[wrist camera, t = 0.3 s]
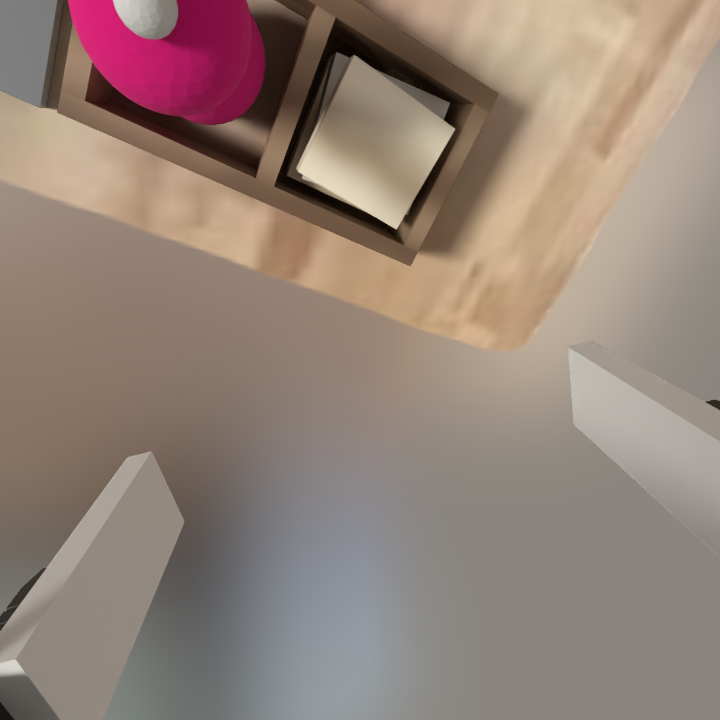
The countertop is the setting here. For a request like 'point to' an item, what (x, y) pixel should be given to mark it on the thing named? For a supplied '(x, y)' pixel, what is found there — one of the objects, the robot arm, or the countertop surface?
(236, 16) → the pepper mill
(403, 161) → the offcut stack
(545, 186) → the countertop surface
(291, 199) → the tray
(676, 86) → the countertop surface
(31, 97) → the slate tile
